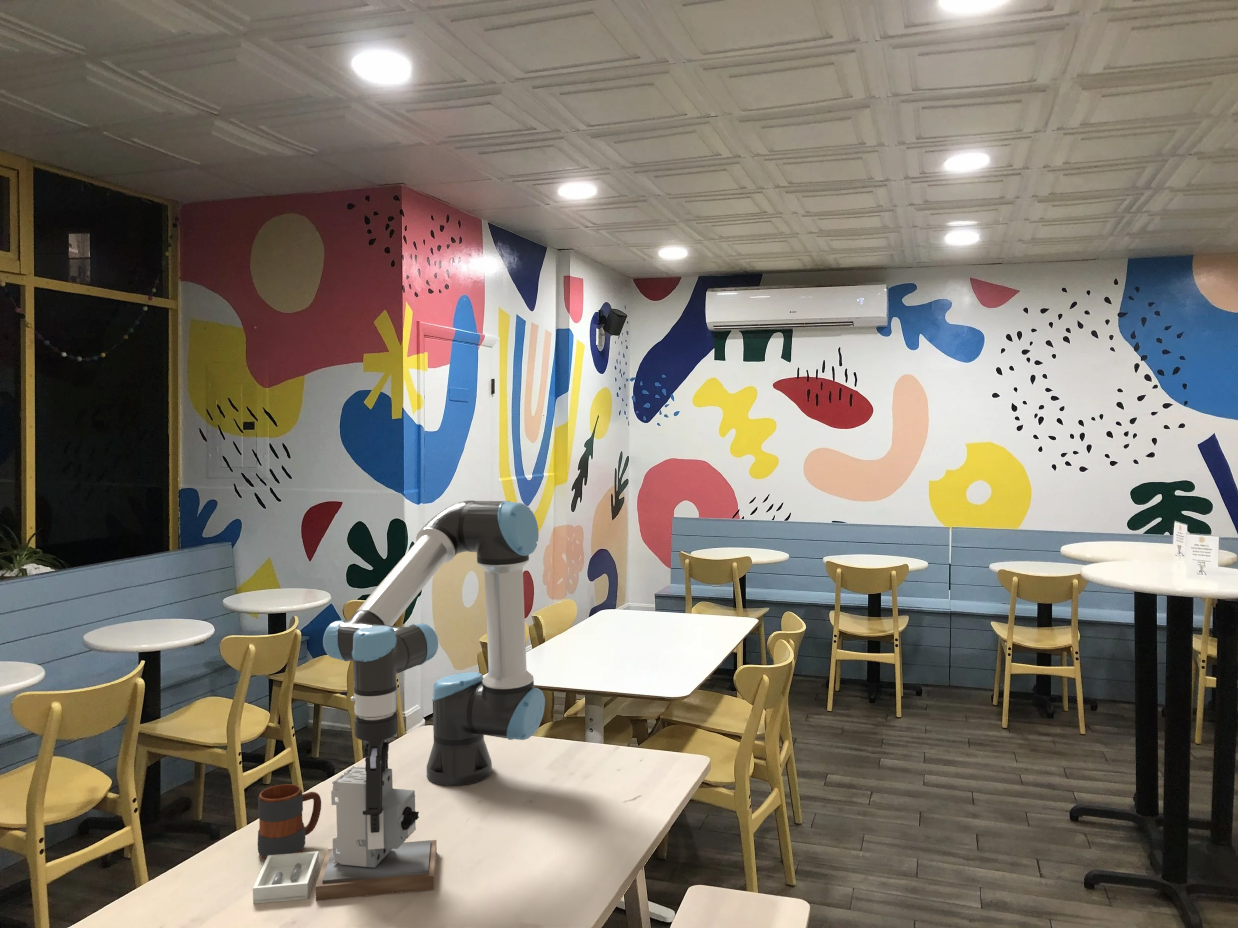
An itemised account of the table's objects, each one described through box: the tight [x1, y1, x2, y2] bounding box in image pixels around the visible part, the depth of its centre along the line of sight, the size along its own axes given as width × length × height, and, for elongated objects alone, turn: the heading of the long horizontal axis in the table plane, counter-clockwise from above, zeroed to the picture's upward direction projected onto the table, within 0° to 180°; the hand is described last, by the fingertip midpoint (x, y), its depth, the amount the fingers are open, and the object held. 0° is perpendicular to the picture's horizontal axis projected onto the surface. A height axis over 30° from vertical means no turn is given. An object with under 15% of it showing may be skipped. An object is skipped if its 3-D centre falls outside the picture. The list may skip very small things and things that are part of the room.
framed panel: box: [315, 839, 438, 902], centre depth 164 cm, size 14×20×3 cm
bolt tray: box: [252, 850, 320, 904], centre depth 161 cm, size 12×9×3 cm
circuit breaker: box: [330, 765, 420, 868], centre depth 164 cm, size 8×14×15 cm, turn 79°
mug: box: [257, 783, 322, 860], centre depth 175 cm, size 9×12×12 cm
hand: (378, 835), depth 164 cm, fingers closed on circuit breaker, 9 cm apart
